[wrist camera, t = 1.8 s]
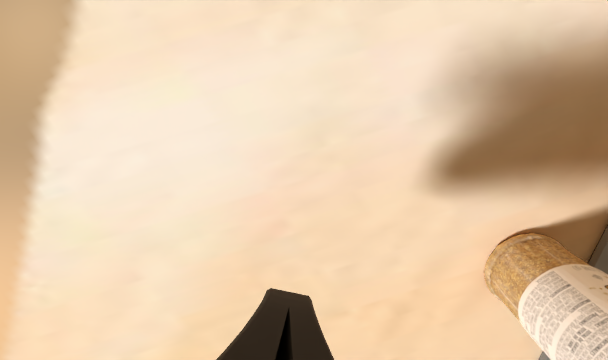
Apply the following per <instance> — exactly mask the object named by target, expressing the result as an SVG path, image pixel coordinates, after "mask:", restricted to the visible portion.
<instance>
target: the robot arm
mask: <svg viewBox="0 0 608 360" xmlns="http://www.w3.org/2000/svg"><path fill="white" fill-rule="evenodd" d="M216 360H334V358H333V356H332V354H331V352H330V349H329V347H328V345H327V343H326V340H325V338H324V336H323V333H322V331H321V328H320V325H319V323H318V320H317V317H316V314H315V311H314V308H313V304H312V301H311V299H310V297H309V296H306V295H301V294H296V293H291V292H287V291H282V290H277V289H272V288H271V289H269V290H267V291H266V294H265V296H264V298H263V300H262V302H261V304H260V305H259V307H258V309H257V310H256V312H255V313H254V315H253V316H252V317H251V319H250V320H249V321H248V323H247V324H246V325H245V327H244V328H243V330H242V331H241V332H240V333H239V335H238V336H237V337H236V338H235V339H234V340H233V341H232V343H231V344H230V345H229V346H228V347H227V348H226V350H225V351H224V352H223V353H222V354H221V355H220V356H219V357H218V358H217V359H216Z"/></svg>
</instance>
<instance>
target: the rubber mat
mask: <svg viewBox="0 0 608 360" xmlns="http://www.w3.org/2000/svg"><path fill="white" fill-rule="evenodd" d="M588 264H589V265H591V266H592V267H594V268H597V269H599V270H601V271H603V272H604V273H606V274H607V275H608V226H607V228H606V230H605V232H604V234H603V236H602V238H601V240H600V241H599V243H598V245H597V247H596V249H595V251H594V253H593V255H592V257H591V259H590V261H589V263H588ZM539 360H550V358H549V357H548V356H547V355H546V354H545V352H544V351H543V352H542V354H541V356H540V358H539Z"/></svg>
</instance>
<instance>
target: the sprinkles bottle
mask: <svg viewBox="0 0 608 360" xmlns="http://www.w3.org/2000/svg"><path fill="white" fill-rule="evenodd" d="M484 277H485V281H486V284H487V287H488V288H489V290H490V291H491V293H492V294H493V295H494V296H495V297H496V298H498V299H499V300H501V301H502V302H503V303H504V304H505V305H506V306H507V307H508V308H509V309H510V310H511V312H512V313H513V314H514V315H515V317H516V318H517V319H518V320H519V321H520V323H521V324H522V326H523V327H524V329H525V330H526V331H527V333H528V334H529V335H530V336H531V337H532V338H533V340H534V341H535V342H536V343H537V344H538V345H539V347H540V348H541V349H542V350H543V351H544V352H545V354H546V355H547V356H548V357H549V358H550V360H608V275H607V274H606V273H604V272H603V271H601V270H599V269H597V268H594V267H592V266H591V265H589V264H587V263H586V262H585V261H583V260H581V259H579V258H578V257H576V256H575V255H573V254H572V253H570V252H569V251H568V250H566V249H565V248H564V247H563V245H561V244H560V243H559V242H558V241H556V240H554V239H553V238H550V237H548V236H545V235H540V234H534V233H528V234H521V235H517V236H514V237H512V238H510V239H508V240H506V241H504V242H503V243H501V244H500V245H498V246H497V247H496V248H495V250H494V251H493V253H492V254H491V255H490V256H489V258H488V260H487V262H486V265H485V270H484Z"/></svg>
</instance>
